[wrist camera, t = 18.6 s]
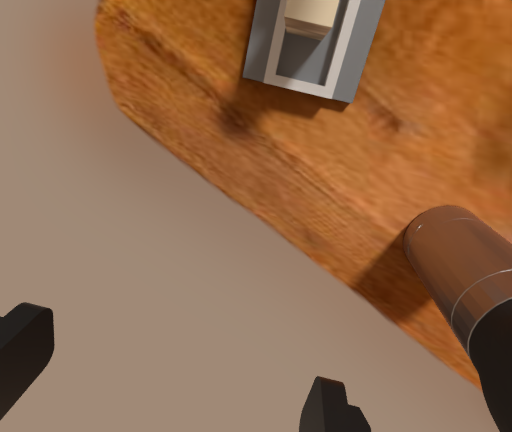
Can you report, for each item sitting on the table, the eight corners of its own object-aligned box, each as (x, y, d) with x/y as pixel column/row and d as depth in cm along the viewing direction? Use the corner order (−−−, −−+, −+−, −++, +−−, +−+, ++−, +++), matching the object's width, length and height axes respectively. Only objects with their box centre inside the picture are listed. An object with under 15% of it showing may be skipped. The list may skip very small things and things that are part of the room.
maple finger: (333, -6, 32) (349, -39, 23) (321, 40, 33) (332, 27, 24) (296, -14, 32) (297, -51, 23) (286, 32, 33) (283, 16, 24)
